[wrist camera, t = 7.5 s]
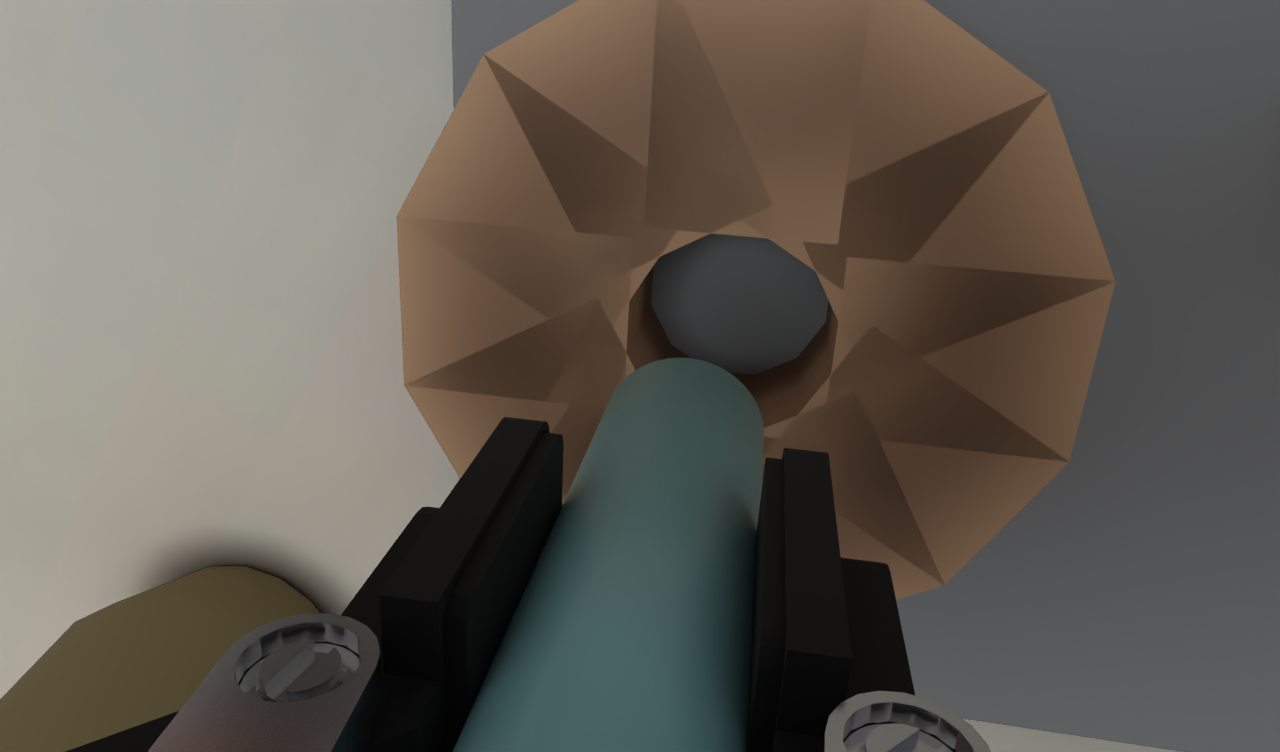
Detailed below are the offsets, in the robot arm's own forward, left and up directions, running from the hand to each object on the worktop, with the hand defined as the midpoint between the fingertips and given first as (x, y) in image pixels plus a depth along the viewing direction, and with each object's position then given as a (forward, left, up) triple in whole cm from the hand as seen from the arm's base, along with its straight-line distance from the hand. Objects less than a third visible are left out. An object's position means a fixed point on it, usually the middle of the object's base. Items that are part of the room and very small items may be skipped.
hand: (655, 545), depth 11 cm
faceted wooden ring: (0, 0, -11) cm, 11 cm away
